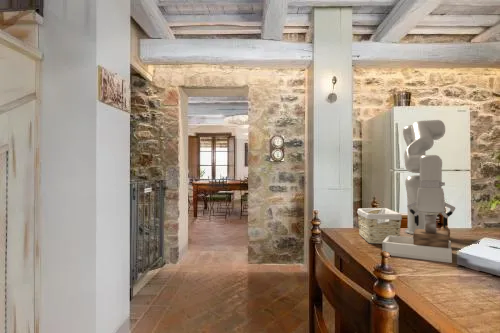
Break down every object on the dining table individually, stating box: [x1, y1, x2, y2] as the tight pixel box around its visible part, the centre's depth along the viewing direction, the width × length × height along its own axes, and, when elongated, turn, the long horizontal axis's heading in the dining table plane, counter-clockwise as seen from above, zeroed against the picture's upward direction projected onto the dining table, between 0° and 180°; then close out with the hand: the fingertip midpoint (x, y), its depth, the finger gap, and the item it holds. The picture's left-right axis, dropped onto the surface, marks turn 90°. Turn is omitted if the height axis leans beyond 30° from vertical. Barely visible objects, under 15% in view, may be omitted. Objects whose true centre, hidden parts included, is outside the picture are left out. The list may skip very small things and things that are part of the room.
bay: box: [381, 235, 453, 264], centre depth 133 cm, size 25×17×5 cm
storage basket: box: [356, 207, 403, 245], centre depth 161 cm, size 24×16×15 cm
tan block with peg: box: [412, 215, 450, 248], centre depth 131 cm, size 12×12×15 cm
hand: (430, 226), depth 131 cm, fingers open, 9 cm apart
